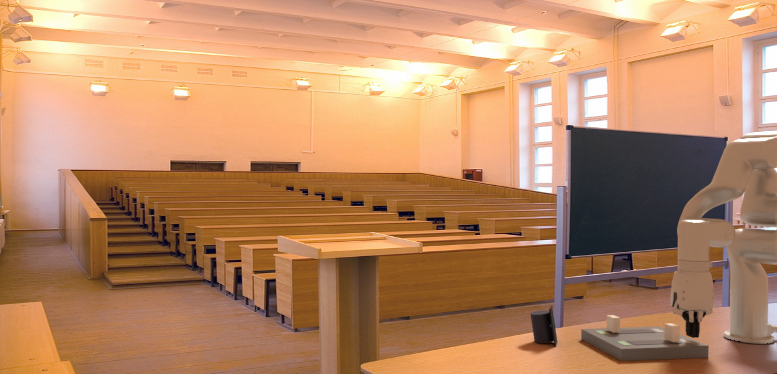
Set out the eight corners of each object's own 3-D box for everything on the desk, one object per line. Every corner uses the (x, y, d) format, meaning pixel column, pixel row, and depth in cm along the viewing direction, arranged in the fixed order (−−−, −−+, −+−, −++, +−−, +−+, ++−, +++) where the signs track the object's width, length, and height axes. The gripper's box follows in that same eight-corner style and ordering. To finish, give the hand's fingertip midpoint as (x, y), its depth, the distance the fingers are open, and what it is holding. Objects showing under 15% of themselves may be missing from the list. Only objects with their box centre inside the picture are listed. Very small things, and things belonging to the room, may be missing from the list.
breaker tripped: (671, 338, 170) (671, 323, 170) (679, 341, 166) (679, 326, 166) (664, 338, 169) (664, 323, 169) (672, 342, 166) (672, 326, 166)
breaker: (613, 329, 180) (613, 315, 180) (619, 332, 176) (619, 317, 176) (606, 329, 180) (606, 315, 180) (613, 332, 176) (613, 318, 176)
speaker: (564, 341, 178) (560, 304, 178) (555, 347, 174) (551, 308, 174) (539, 340, 183) (535, 304, 183) (530, 345, 178) (526, 308, 179)
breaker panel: (659, 336, 186) (659, 326, 185) (708, 357, 164) (708, 345, 164) (581, 339, 182) (581, 328, 182) (621, 360, 160) (621, 348, 160)
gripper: (709, 264, 173) (709, 332, 173) (658, 265, 171) (658, 334, 171) (728, 268, 166) (727, 339, 166) (675, 269, 164) (674, 340, 164)
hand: (692, 336), depth 168 cm, fingers closed
